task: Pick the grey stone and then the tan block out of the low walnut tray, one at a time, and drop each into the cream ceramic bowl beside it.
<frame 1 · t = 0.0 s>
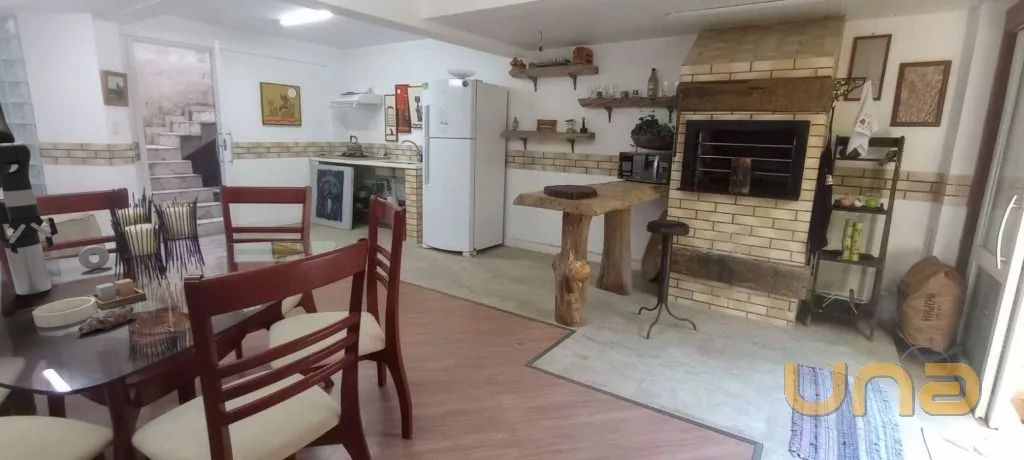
hand: (33, 250, 169), 17 cm above the table, tool pointing down, fingers open, 8 cm apart
donut: (96, 269, 205), on the table
walnut tray: (118, 300, 169), on the table
cream bowl: (67, 318, 154), on the table
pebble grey: (108, 302, 166), resting on walnut tray
tan block: (127, 297, 171), resting on walnut tray
mineral rock: (107, 327, 148), on the table
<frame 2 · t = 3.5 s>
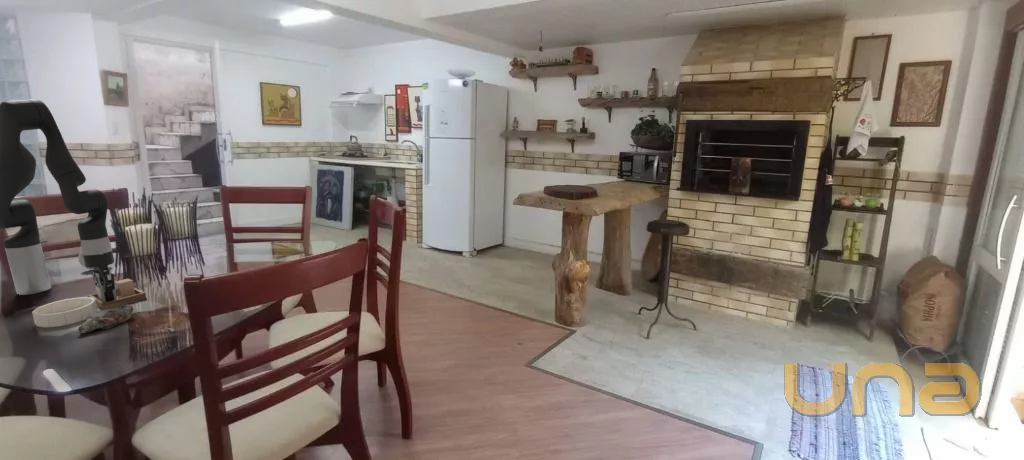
hand: (108, 299, 166), 1 cm above the table, tool pointing down, fingers closed on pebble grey, 4 cm apart
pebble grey: (108, 302, 166), resting on walnut tray, touching gripper
everything else where it was.
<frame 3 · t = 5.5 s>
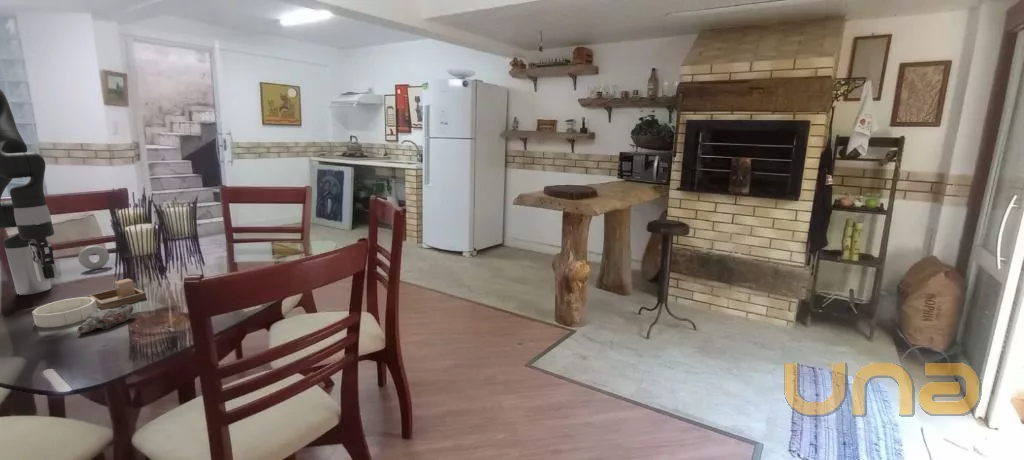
hand: (47, 276, 149), 14 cm above the table, tool pointing down, fingers closed on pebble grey, 4 cm apart
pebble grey: (48, 279, 149), point 14 cm above the table, touching gripper
everything else where it was.
when the fingers open (4 cm above the table, at t = 7.5 s): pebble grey drops 2 cm, resting on cream bowl.
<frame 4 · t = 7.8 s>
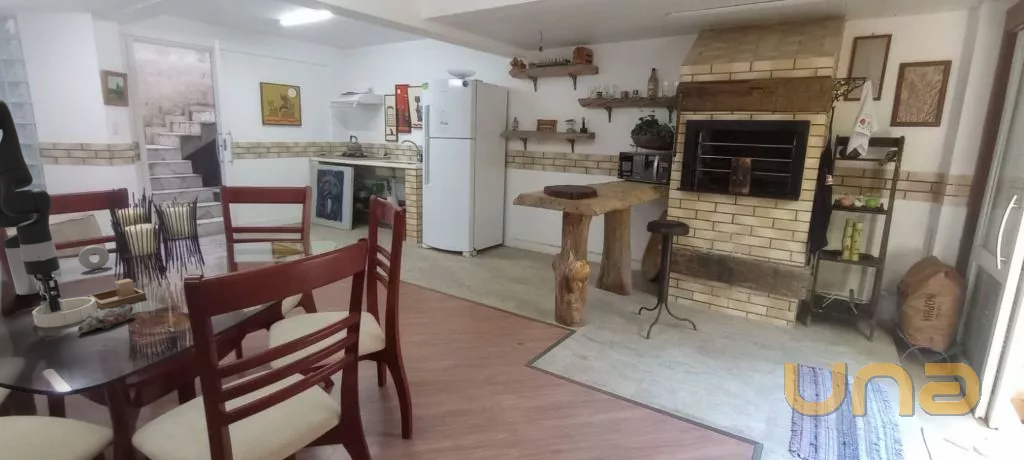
hand: (52, 308, 151), 4 cm above the table, tool pointing down, fingers open, 6 cm apart
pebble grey: (55, 319, 152), point 1 cm above the table, touching cream bowl
everything else where it was.
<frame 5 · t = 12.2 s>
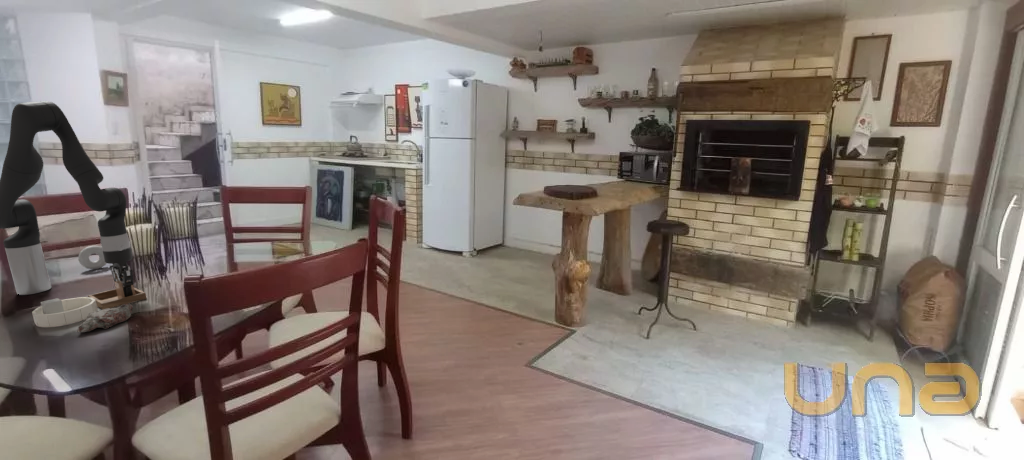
hand: (126, 295, 170), 1 cm above the table, tool pointing down, fingers closed on tan block, 4 cm apart
tan block: (127, 297, 171), resting on walnut tray, touching gripper
everything else where it was.
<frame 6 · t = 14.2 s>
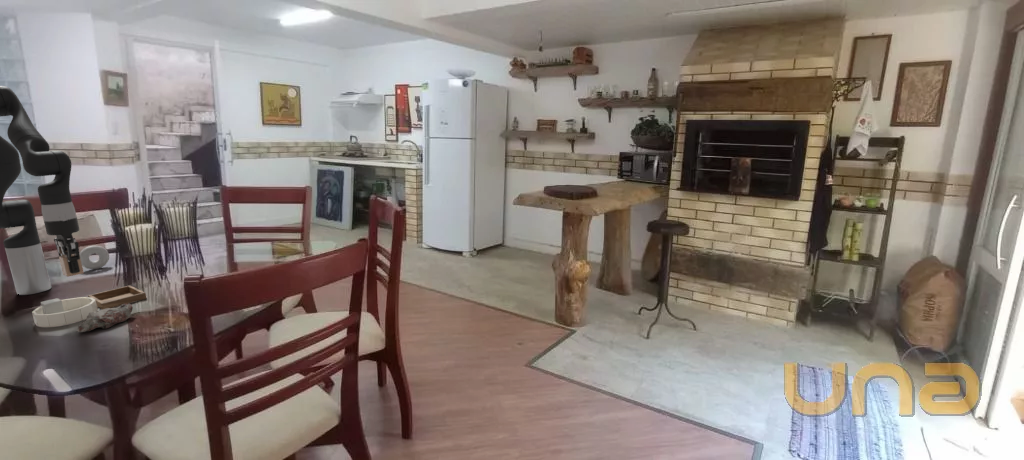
hand: (72, 271, 154), 14 cm above the table, tool pointing down, fingers closed on tan block, 4 cm apart
tan block: (73, 273, 154), point 13 cm above the table, touching gripper
when the fingers open (4 cm above the table, at t = 16.3 s): tan block drops 2 cm, resting on cream bowl.
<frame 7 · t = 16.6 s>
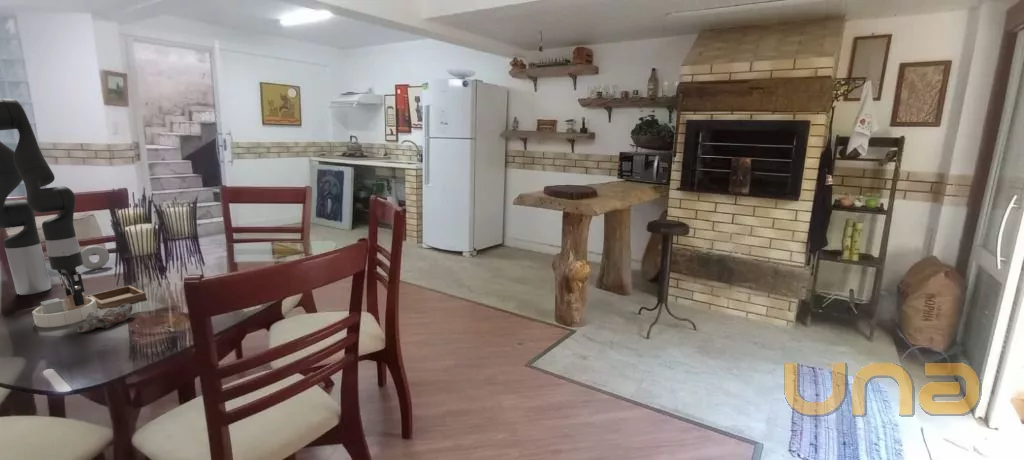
hand: (76, 302, 155), 4 cm above the table, tool pointing down, fingers open, 7 cm apart
tan block: (78, 313, 157), point 1 cm above the table, touching cream bowl
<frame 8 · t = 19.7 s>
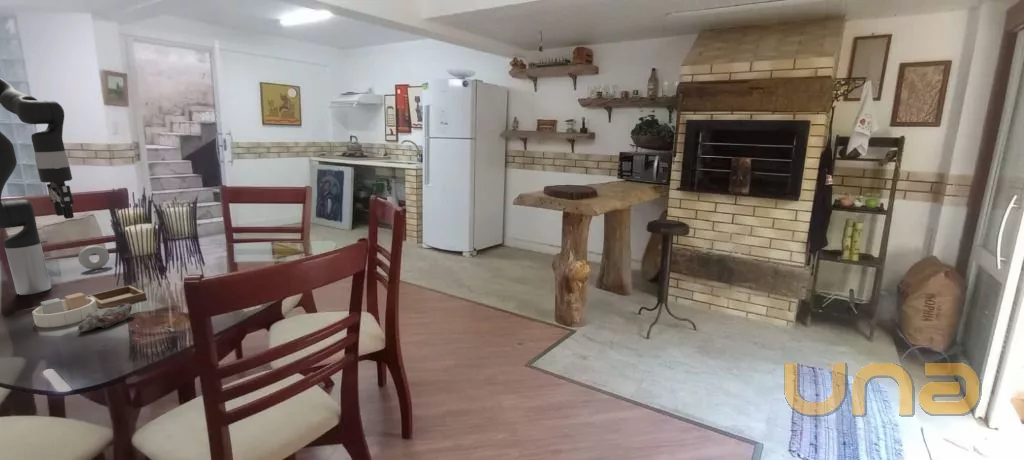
hand: (65, 216, 159), 30 cm above the table, tool pointing down, fingers open, 8 cm apart
at the end: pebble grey inside the target area on the cream bowl (2.8 cm from its centre), point 0.6 cm above the cream bowl's base; tan block inside the target area on the cream bowl (2.9 cm from its centre), point 0.6 cm above the cream bowl's base; the gripper is holding nothing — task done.
